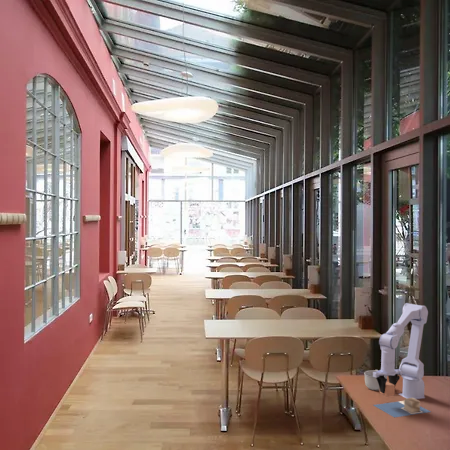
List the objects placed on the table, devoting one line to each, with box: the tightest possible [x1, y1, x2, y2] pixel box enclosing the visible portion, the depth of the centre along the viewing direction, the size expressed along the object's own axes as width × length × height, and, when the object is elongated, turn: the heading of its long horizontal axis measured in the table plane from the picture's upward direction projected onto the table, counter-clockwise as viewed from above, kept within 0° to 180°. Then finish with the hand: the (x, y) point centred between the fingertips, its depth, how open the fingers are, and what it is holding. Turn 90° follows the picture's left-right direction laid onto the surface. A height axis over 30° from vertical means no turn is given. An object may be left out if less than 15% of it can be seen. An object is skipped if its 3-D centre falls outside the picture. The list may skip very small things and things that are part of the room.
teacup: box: [363, 369, 388, 392], centre depth 240 cm, size 14×11×8 cm
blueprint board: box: [373, 400, 432, 418], centre depth 213 cm, size 20×14×1 cm
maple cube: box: [403, 398, 421, 413], centre depth 211 cm, size 4×4×4 cm
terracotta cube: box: [379, 381, 396, 397], centre depth 215 cm, size 4×4×4 cm
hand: (387, 391), depth 215 cm, fingers closed on terracotta cube, 4 cm apart
